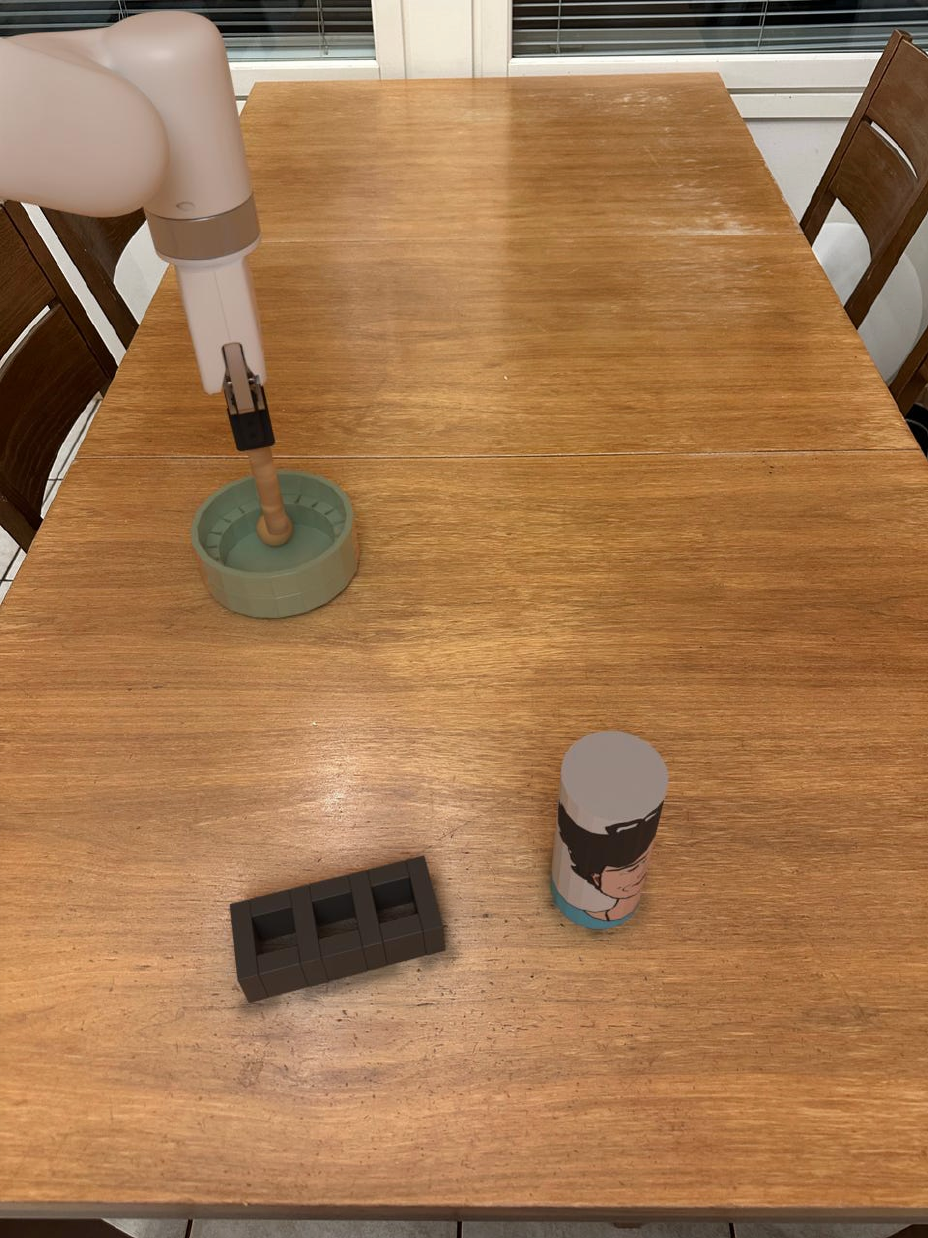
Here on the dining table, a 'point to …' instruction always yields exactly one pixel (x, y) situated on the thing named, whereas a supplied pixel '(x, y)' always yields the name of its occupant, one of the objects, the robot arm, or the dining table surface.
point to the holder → (342, 951)
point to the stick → (268, 488)
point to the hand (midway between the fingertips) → (254, 435)
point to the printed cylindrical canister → (605, 827)
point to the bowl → (276, 574)
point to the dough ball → (273, 539)
